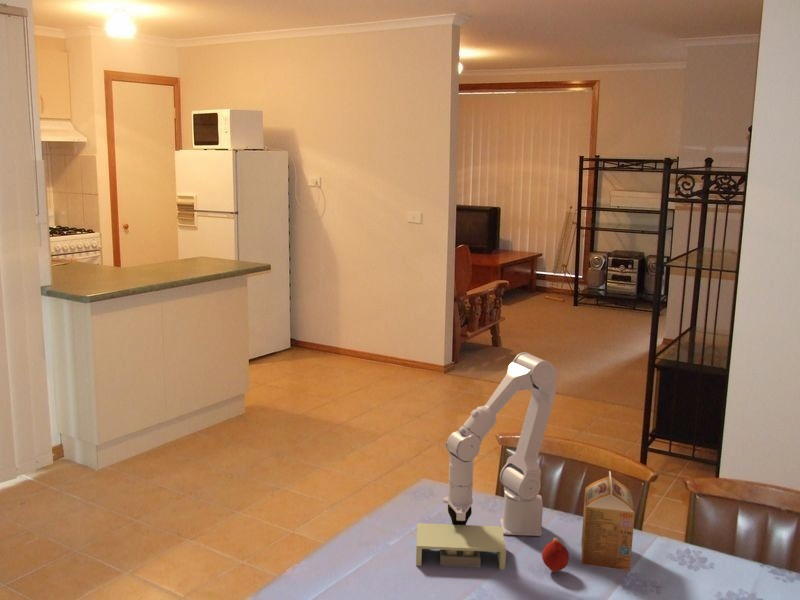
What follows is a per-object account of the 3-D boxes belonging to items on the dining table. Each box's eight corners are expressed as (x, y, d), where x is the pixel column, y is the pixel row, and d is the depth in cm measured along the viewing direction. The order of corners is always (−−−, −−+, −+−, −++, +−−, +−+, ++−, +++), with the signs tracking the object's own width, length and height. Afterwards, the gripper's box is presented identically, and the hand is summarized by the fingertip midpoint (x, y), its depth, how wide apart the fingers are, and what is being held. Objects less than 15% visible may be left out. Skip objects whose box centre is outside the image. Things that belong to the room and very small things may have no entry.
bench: (500, 545, 183) (501, 526, 182) (505, 569, 172) (506, 549, 171) (416, 541, 183) (417, 523, 182) (415, 565, 172) (416, 545, 172)
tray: (477, 544, 184) (477, 532, 183) (480, 568, 173) (480, 556, 172) (439, 542, 184) (440, 531, 183) (440, 566, 173) (440, 554, 172)
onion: (569, 567, 173) (571, 535, 172) (565, 580, 168) (568, 546, 166) (543, 562, 175) (545, 530, 174) (539, 575, 170) (541, 542, 168)
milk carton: (629, 570, 173) (636, 491, 169) (581, 564, 175) (587, 486, 171) (626, 548, 183) (633, 473, 179) (581, 542, 185) (586, 468, 182)
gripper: (443, 469, 189) (441, 520, 191) (444, 494, 175) (442, 549, 177) (471, 470, 189) (469, 521, 191) (475, 495, 174) (472, 550, 177)
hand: (458, 535), depth 184 cm, fingers closed
